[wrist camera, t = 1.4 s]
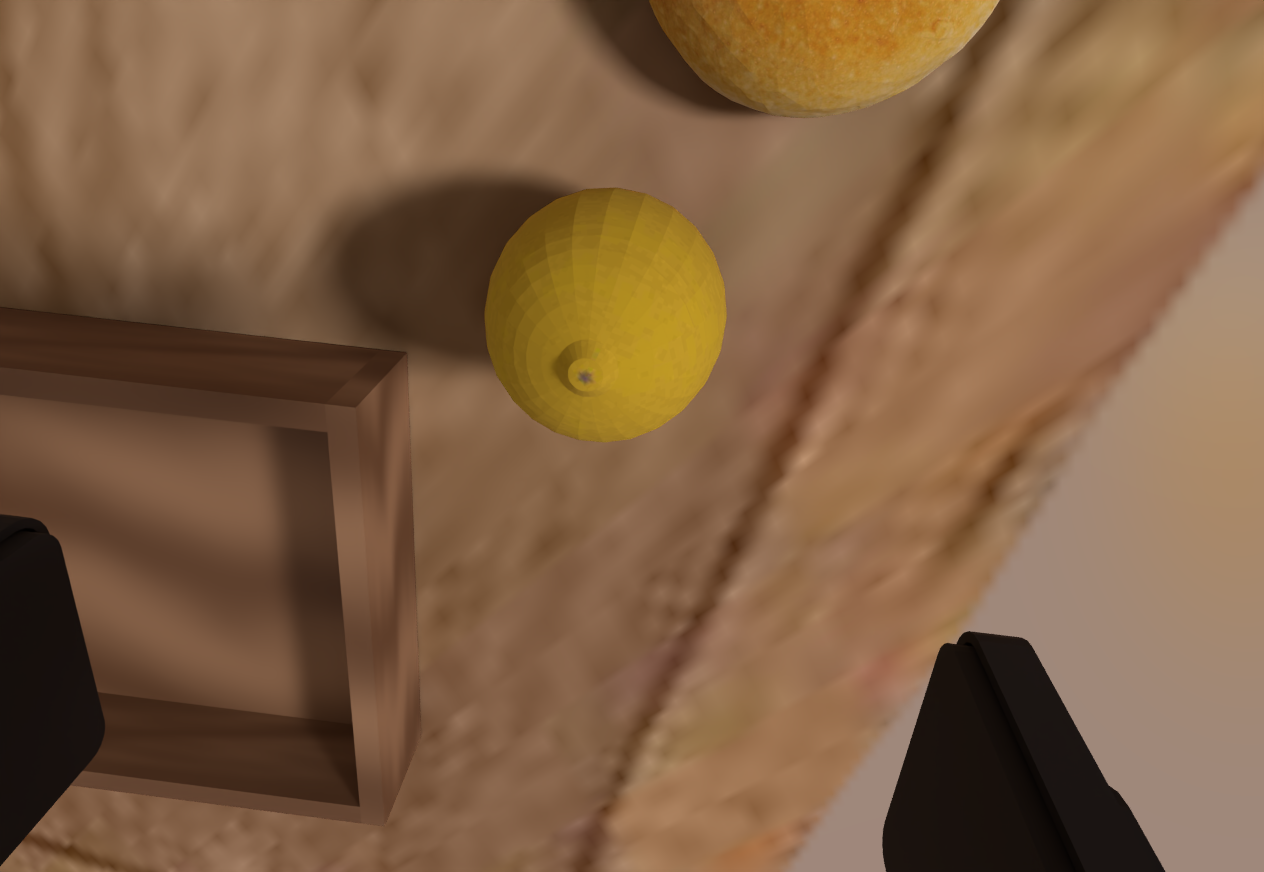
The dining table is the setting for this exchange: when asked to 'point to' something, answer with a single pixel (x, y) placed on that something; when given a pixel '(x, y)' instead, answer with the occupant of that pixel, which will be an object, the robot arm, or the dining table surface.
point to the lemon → (605, 314)
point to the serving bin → (227, 554)
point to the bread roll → (817, 48)
